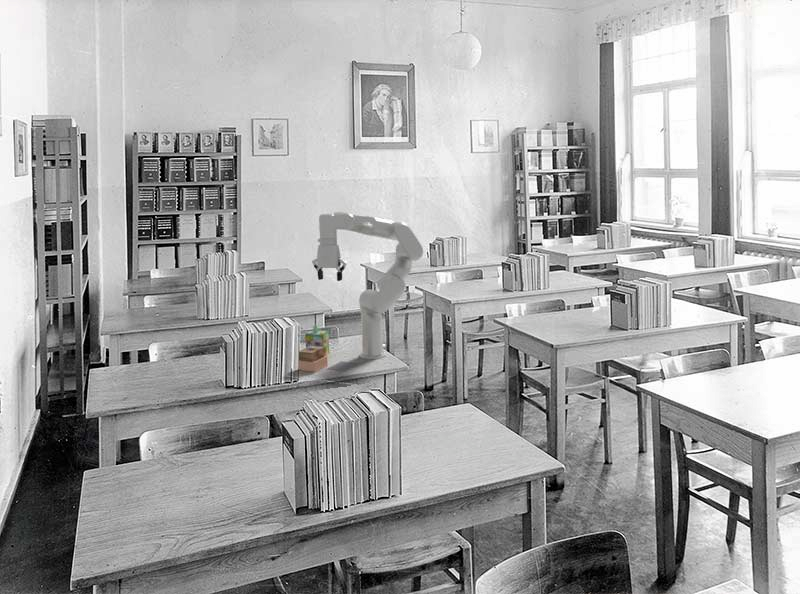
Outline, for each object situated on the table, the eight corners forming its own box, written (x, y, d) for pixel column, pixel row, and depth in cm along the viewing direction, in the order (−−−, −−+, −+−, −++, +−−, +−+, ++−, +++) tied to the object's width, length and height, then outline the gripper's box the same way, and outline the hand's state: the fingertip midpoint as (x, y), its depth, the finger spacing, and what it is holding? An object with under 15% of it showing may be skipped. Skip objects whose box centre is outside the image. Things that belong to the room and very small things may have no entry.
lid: (311, 354, 331) (311, 343, 331) (325, 355, 329) (324, 345, 328) (298, 360, 322) (297, 349, 321) (312, 362, 319) (311, 351, 318)
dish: (308, 364, 333) (308, 354, 332) (327, 367, 328) (327, 356, 328) (296, 370, 324) (296, 359, 323) (316, 373, 320) (315, 362, 319)
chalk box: (324, 358, 342) (323, 327, 340) (305, 358, 344) (304, 327, 341) (330, 353, 351) (329, 323, 348) (311, 353, 353) (310, 323, 350)
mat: (341, 362, 336) (341, 361, 336) (360, 364, 331) (360, 363, 331) (325, 370, 323) (325, 369, 323) (345, 372, 319) (345, 371, 319)
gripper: (307, 242, 325) (309, 280, 328) (341, 243, 318) (342, 282, 321) (316, 240, 332) (317, 277, 335) (349, 241, 324) (351, 279, 328)
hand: (330, 280), depth 328 cm, fingers open, 9 cm apart
